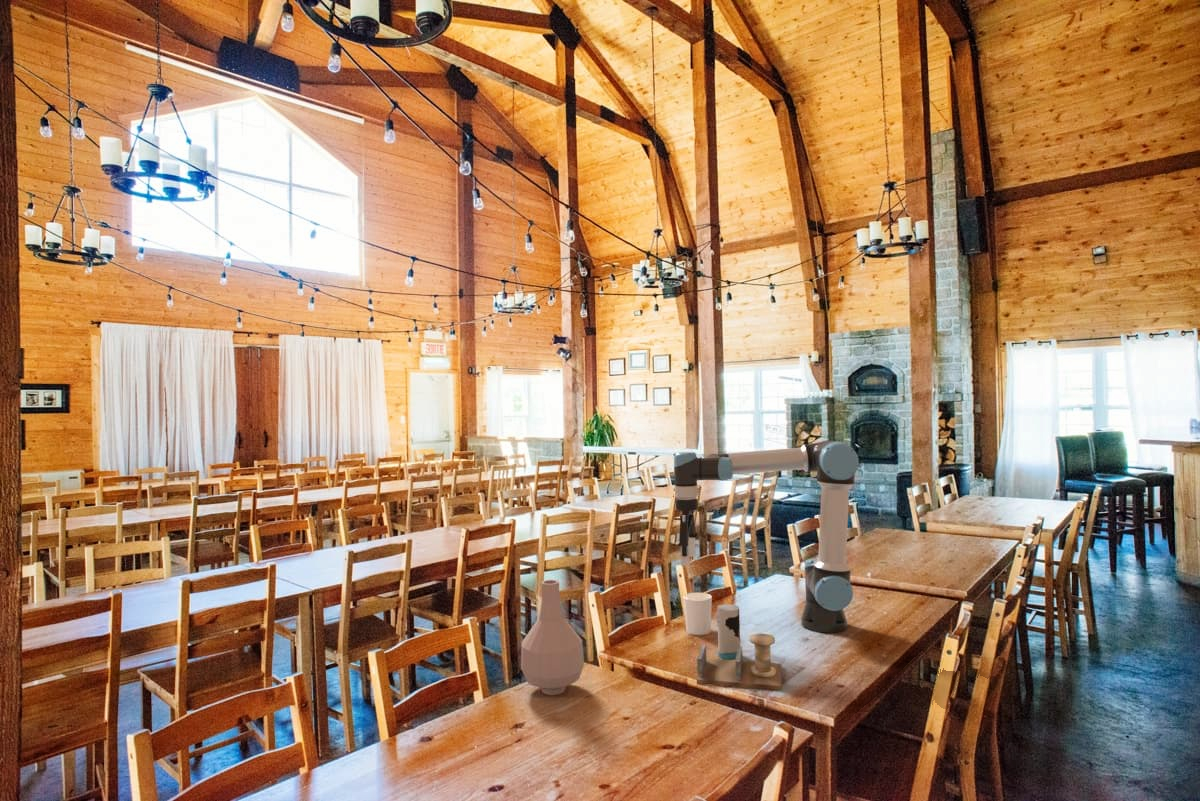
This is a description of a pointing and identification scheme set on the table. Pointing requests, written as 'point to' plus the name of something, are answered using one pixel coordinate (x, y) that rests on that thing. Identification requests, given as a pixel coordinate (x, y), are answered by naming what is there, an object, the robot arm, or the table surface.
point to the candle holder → (698, 613)
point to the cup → (728, 631)
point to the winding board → (742, 667)
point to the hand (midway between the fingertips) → (688, 561)
